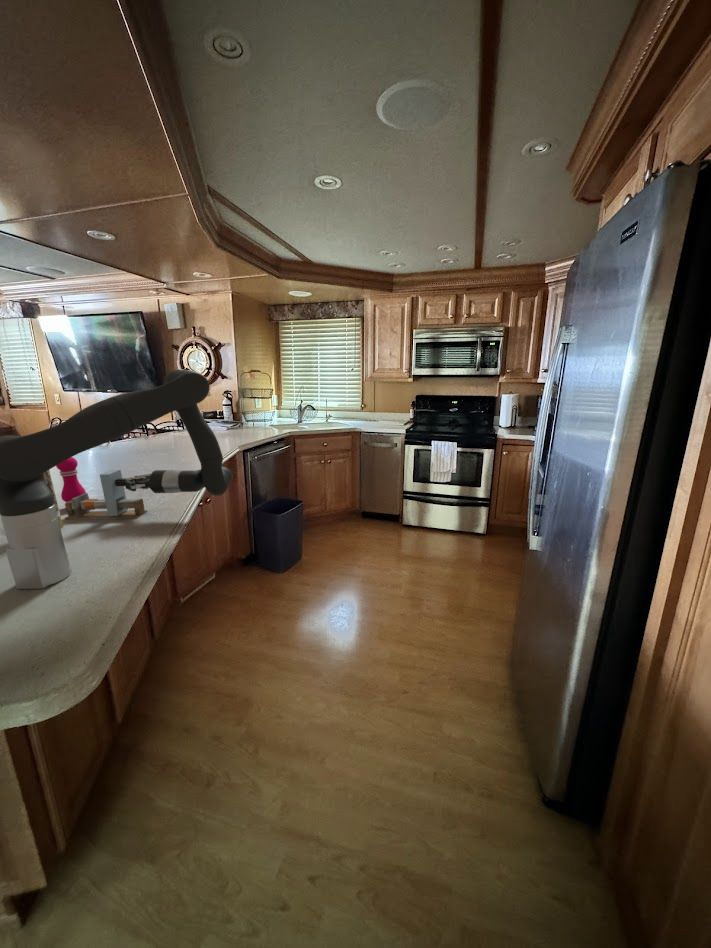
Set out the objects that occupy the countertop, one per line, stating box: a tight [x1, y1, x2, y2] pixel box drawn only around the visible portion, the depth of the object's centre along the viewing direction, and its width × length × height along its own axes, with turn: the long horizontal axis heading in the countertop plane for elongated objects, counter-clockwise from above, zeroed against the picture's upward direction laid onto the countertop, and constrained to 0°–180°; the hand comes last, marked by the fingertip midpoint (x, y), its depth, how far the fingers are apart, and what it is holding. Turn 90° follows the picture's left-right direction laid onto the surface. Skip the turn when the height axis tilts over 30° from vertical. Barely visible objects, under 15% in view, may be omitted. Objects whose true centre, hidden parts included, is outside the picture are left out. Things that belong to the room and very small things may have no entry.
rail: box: [64, 492, 148, 520], centre depth 125 cm, size 6×24×7 cm, turn 90°
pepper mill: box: [55, 456, 87, 510], centre depth 132 cm, size 7×7×20 cm
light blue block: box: [99, 469, 129, 516], centre depth 124 cm, size 6×3×14 cm, turn 0°
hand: (116, 482), depth 123 cm, fingers closed
